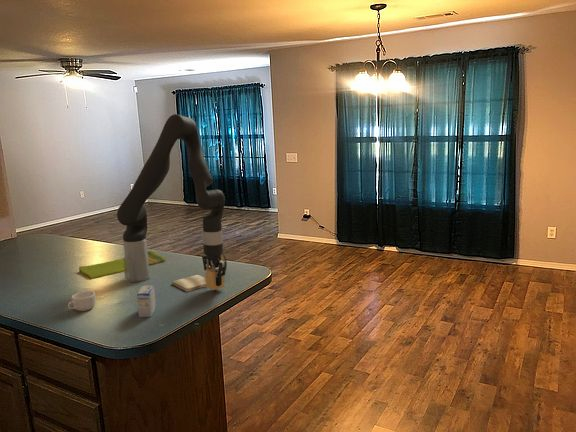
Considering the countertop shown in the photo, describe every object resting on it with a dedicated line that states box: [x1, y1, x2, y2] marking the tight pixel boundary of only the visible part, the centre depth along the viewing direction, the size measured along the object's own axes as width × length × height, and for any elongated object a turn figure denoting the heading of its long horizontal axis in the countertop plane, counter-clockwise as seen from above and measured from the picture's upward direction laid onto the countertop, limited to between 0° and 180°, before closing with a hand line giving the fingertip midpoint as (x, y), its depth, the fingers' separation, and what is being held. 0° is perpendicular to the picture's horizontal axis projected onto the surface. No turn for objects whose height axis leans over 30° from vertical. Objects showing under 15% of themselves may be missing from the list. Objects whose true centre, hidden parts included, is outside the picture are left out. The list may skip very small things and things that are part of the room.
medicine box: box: [136, 285, 157, 318], centre depth 160 cm, size 8×4×9 cm, turn 5°
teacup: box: [67, 290, 96, 312], centre depth 164 cm, size 10×8×5 cm
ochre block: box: [204, 268, 225, 291], centre depth 179 cm, size 5×5×7 cm
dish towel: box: [78, 250, 166, 280], centre depth 214 cm, size 15×36×3 cm, turn 133°
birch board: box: [171, 274, 206, 293], centre depth 188 cm, size 12×12×1 cm
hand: (214, 283), depth 180 cm, fingers closed on ochre block, 5 cm apart
